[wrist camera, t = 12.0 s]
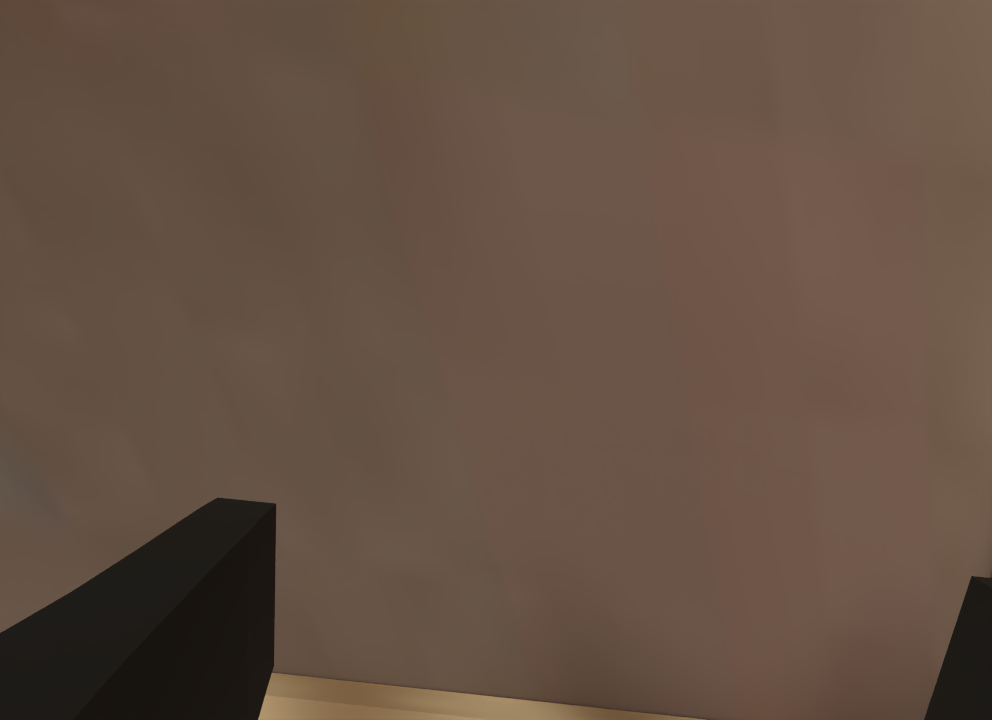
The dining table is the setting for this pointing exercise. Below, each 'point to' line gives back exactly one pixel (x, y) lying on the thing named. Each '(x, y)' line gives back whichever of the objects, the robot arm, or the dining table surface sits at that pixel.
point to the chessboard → (413, 704)
